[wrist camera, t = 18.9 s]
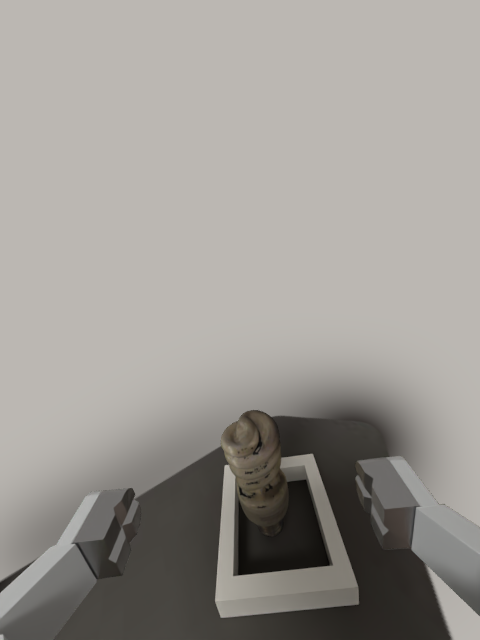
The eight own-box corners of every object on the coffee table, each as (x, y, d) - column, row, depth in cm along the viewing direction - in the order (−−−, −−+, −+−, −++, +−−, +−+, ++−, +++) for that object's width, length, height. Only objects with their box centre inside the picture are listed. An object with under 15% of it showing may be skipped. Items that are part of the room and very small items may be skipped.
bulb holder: (221, 617, 21) (215, 601, 20) (228, 478, 33) (224, 465, 33) (359, 604, 20) (358, 586, 20) (314, 467, 33) (312, 453, 32)
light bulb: (263, 575, 23) (235, 457, 19) (235, 524, 28) (208, 419, 23) (305, 534, 26) (290, 422, 21) (273, 494, 30) (255, 394, 26)
